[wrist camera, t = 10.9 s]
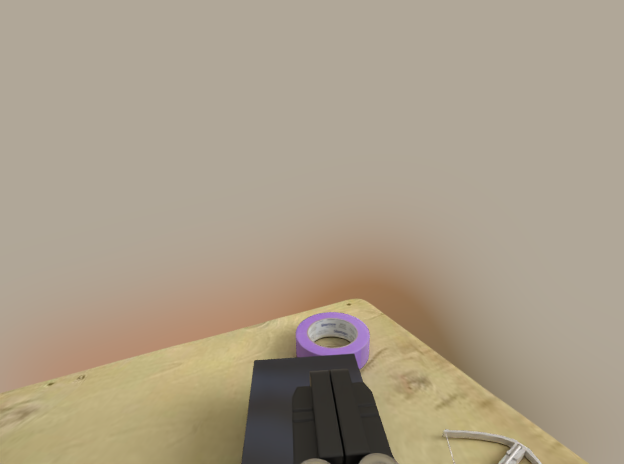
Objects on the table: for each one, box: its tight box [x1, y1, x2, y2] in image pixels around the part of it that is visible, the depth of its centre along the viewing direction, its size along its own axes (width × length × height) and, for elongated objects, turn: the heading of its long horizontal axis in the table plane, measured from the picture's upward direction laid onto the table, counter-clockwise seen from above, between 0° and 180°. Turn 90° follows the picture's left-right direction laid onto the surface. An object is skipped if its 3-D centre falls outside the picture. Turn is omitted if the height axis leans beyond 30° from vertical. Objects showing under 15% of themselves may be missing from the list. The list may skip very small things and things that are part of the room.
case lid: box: [241, 353, 363, 464], centre depth 35 cm, size 16×13×1 cm
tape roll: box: [296, 312, 370, 370], centre depth 55 cm, size 12×12×4 cm
